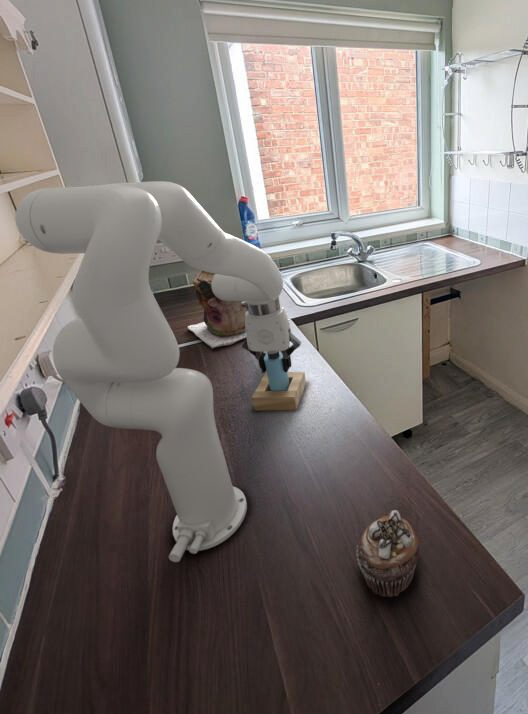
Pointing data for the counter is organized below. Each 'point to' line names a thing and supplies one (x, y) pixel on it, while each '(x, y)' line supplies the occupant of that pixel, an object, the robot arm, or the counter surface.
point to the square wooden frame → (279, 394)
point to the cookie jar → (217, 315)
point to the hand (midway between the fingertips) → (276, 368)
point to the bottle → (276, 371)
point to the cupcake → (388, 554)
